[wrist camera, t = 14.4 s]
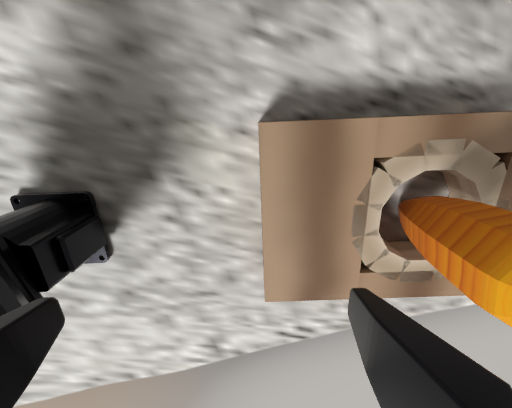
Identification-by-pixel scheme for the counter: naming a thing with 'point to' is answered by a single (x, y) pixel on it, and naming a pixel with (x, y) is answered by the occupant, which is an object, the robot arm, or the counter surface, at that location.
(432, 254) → the carrot
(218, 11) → the counter surface
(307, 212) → the hole board
